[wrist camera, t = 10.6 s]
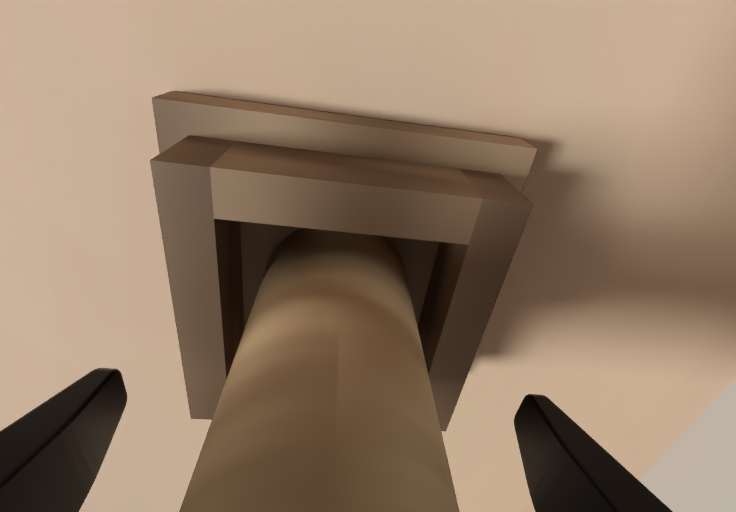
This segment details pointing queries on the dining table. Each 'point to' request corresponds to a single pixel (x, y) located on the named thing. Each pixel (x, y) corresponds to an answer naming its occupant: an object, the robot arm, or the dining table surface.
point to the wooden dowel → (327, 392)
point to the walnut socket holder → (331, 220)
